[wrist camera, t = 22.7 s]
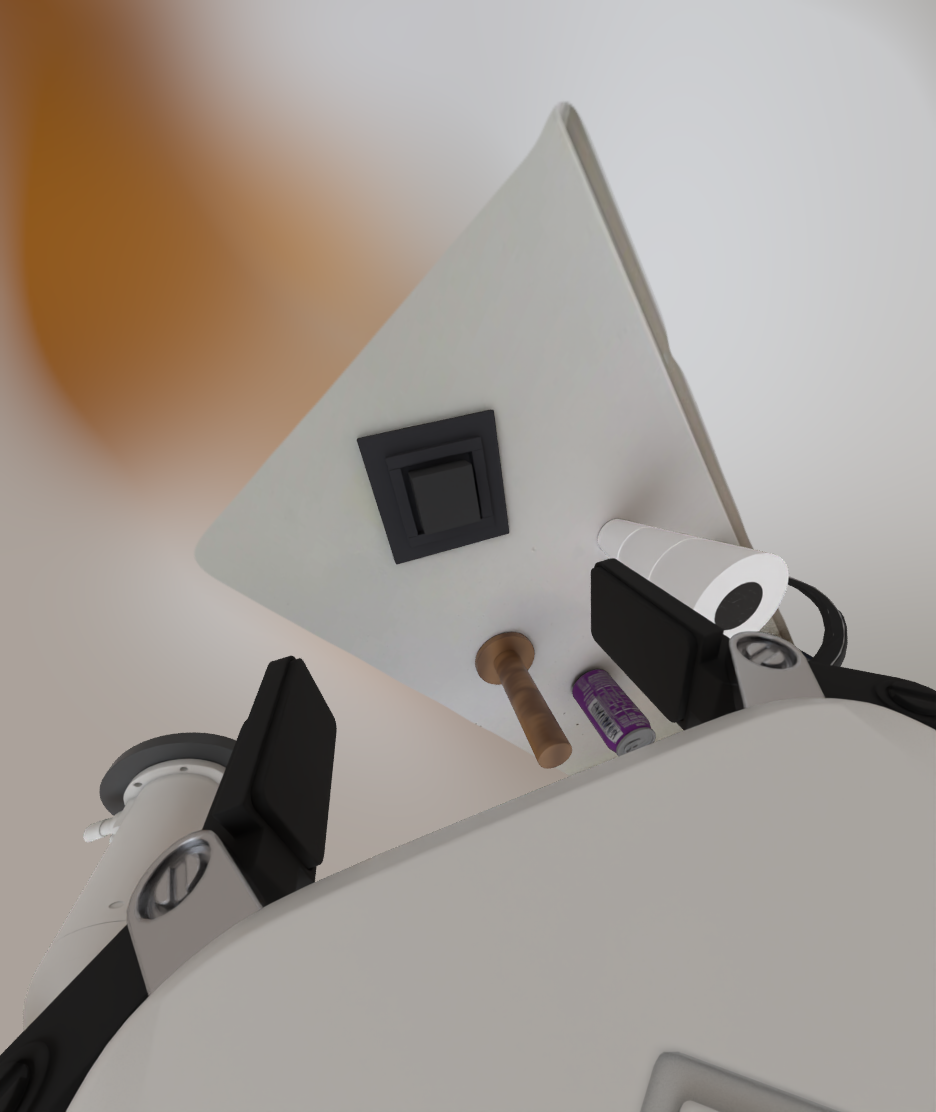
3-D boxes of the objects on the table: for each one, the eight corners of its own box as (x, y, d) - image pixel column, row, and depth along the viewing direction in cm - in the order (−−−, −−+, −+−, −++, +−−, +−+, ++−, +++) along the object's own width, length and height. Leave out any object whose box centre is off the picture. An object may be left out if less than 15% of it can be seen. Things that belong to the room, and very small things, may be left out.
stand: (480, 687, 52) (521, 794, 38) (470, 643, 48) (512, 745, 34) (534, 668, 53) (593, 765, 39) (529, 624, 49) (592, 714, 35)
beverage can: (573, 703, 59) (617, 769, 49) (566, 678, 56) (611, 742, 46) (609, 686, 60) (660, 747, 49) (603, 659, 57) (657, 719, 46)
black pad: (421, 524, 37) (425, 535, 34) (407, 471, 35) (411, 478, 32) (472, 511, 38) (481, 521, 35) (463, 458, 36) (471, 464, 33)
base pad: (395, 561, 40) (396, 569, 38) (356, 438, 33) (356, 440, 31) (506, 530, 42) (513, 537, 40) (490, 409, 35) (497, 410, 33)
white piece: (576, 510, 43) (695, 575, 27) (649, 488, 45) (801, 538, 29) (579, 579, 48) (682, 668, 32) (645, 557, 49) (773, 632, 34)
